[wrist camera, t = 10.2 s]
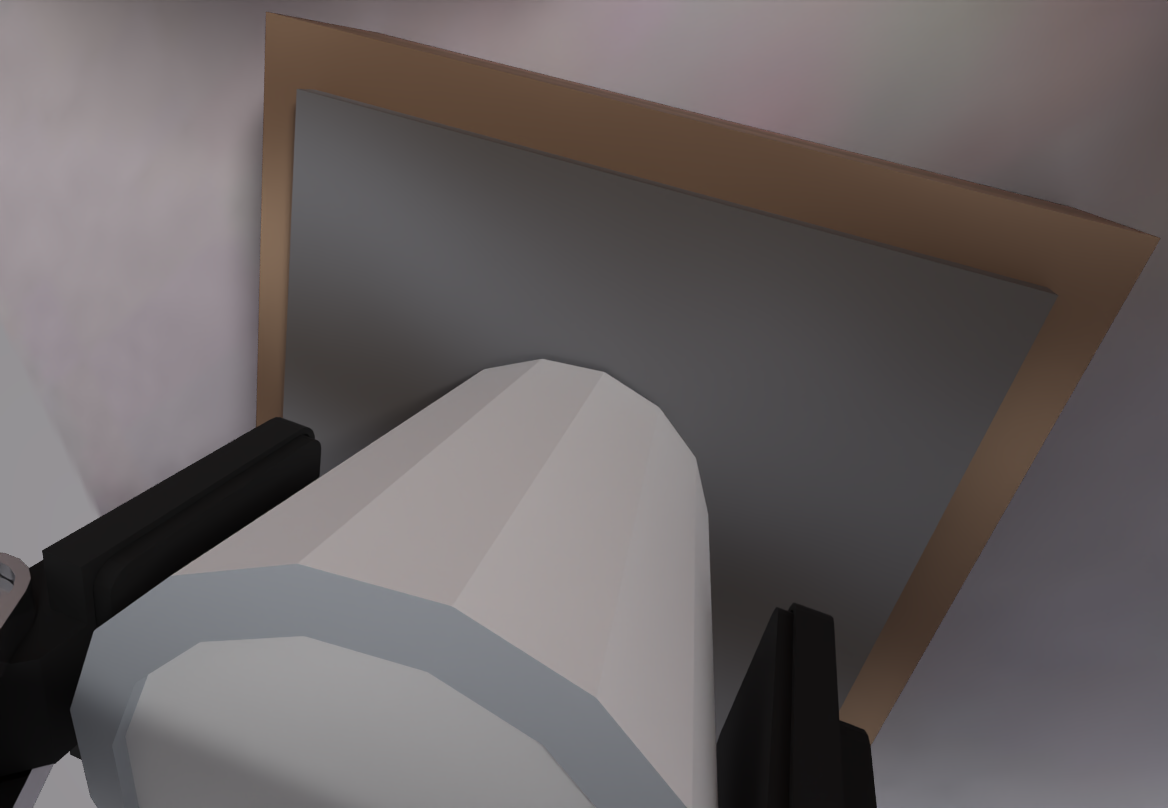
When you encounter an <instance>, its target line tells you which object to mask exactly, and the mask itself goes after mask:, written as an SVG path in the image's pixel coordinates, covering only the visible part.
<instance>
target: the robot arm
mask: <svg viewBox="0 0 1168 808" xmlns="http://www.w3.org/2000/svg"><path fill="white" fill-rule="evenodd" d="M320 463H321V444H320V442H319V441H318V440H316V439H315V435H314V432H313V430H312V429H311V428H309V427H306V426H303V425H301V424H298V423H295V422H292V421H290V420H287V419H284V418H281V417H275V418H272V419H270V420H268V421H267V422H265V423H263V424H261V425H260V426H258V427H256V428H254V429H253V430H251V431H249V432H247V433H246V434H244V435H242V436H240V437H239V438H237V439H235V440H234V441H232V442H230V443H228V444H227V445H225V446H223V447H221V448H220V449H218V450H216V451H214V452H213V453H211V454H209V455H207V456H206V457H204V458H202V459H200V460H199V461H197V462H195V463H194V464H192V465H190V466H188V467H187V468H185V469H183V470H181V471H180V472H178V473H176V474H174V475H173V476H171V477H169V478H167V479H166V480H164V481H162V482H160V483H159V484H157V485H155V486H154V487H152V488H150V489H148V490H147V491H145V492H143V493H141V494H140V495H138V496H136V497H134V498H133V499H131V500H129V501H127V502H126V503H124V504H122V505H120V506H119V507H117V508H115V509H114V510H112V511H110V512H108V513H107V514H105V515H103V516H101V517H100V518H98V519H96V520H94V521H93V522H91V523H90V524H88V525H86V526H84V527H82V528H81V529H79V530H77V531H75V532H74V533H72V534H70V535H69V536H67V537H65V538H63V539H61V540H60V541H58V542H56V543H55V544H53V545H51V546H49V547H48V548H46V549H44V550H42V553H43V560H42V561H40V562H39V563H37V564H35V565H34V566H32V567H30V568H28V566H27V565H25V564H24V563H23V562H22V561H21V560H20V559H19V558H16V557H14V556H11V555H9V554H6V553H0V808H33V806H34V804H35V802H36V800H37V798H38V796H39V794H40V792H41V790H42V787H43V786H44V783H45V781H46V779H47V777H48V775H49V773H50V771H51V769H52V767H53V764H55V763H56V762H57V761H59V760H60V759H61V758H62V757H63V756H64V755H66V754H67V753H68V752H69V751H70V754H71V755H73V756H75V757H77V758H79V759H81V755H80V750H79V746H78V742H77V738H76V734H75V729H74V725H73V721H72V717H71V712H70V708H71V705H72V701H73V698H74V695H75V691H76V688H77V685H78V682H79V678H80V675H81V672H82V668H83V665H84V662H85V658H86V655H87V652H88V649H89V645H90V642H91V639H92V635H93V632H94V630H96V629H97V628H98V627H100V626H101V625H103V624H104V623H105V622H107V621H108V620H110V619H111V618H112V617H114V616H115V615H117V614H118V613H119V612H121V611H122V610H124V609H125V608H126V607H128V606H129V605H131V604H132V603H133V602H135V601H136V600H138V599H139V598H140V597H142V596H143V595H145V594H146V593H147V592H149V591H150V590H152V589H153V588H154V587H156V586H157V585H159V584H160V583H161V582H163V581H164V580H166V579H167V578H168V577H170V576H171V575H173V574H174V573H176V572H177V571H179V570H180V569H182V568H183V567H185V566H186V565H188V564H189V563H191V562H192V561H194V560H195V559H197V558H198V557H200V556H201V555H203V554H204V553H206V552H208V551H209V550H211V549H212V548H214V547H215V546H217V545H218V544H220V543H221V542H223V541H224V540H226V539H227V538H229V537H230V536H232V535H233V534H235V533H236V532H238V531H239V530H241V529H242V528H244V527H245V526H247V525H248V524H250V523H251V522H253V521H255V520H256V519H258V518H259V517H261V516H262V515H264V514H265V513H267V512H268V511H270V510H271V509H273V508H274V507H276V506H277V505H279V504H280V503H282V502H283V501H285V500H286V499H288V498H289V497H291V496H292V495H294V494H295V493H297V492H299V491H300V490H302V489H303V488H305V487H306V486H308V485H309V484H311V483H312V482H314V481H315V480H317V479H318V478H320ZM716 756H717V786H718V808H877V805H876V796H875V786H874V776H873V766H872V756H871V746H870V741H869V736H868V734H867V733H866V731H865V730H864V729H862V728H859V727H856V726H854V725H851V724H849V723H846V722H843V721H841V720H839V703H838V685H837V666H836V648H835V630H834V619H833V617H832V616H831V615H828V614H825V613H822V612H820V611H817V610H814V609H811V608H809V607H806V606H803V605H800V604H797V603H795V602H794V603H792V605H791V606H790V607H789V609H788V611H787V610H784V609H781V608H779V607H776V608H775V609H774V611H773V613H772V615H771V617H770V620H769V622H768V624H767V627H766V629H765V631H764V633H763V636H762V638H761V640H760V643H759V645H758V647H757V650H756V652H755V654H754V656H753V659H752V661H751V663H750V666H749V668H748V670H747V673H746V675H745V677H744V679H743V682H742V684H741V686H740V689H739V691H738V693H737V696H736V698H735V700H734V702H733V705H732V707H731V709H730V712H729V714H728V716H727V719H726V721H725V723H724V725H723V728H722V730H721V732H720V735H719V738H718V741H717V744H716ZM81 760H82V759H81Z"/></svg>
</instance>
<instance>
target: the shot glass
mask: <svg viewBox="0 0 1168 808" xmlns="http://www.w3.org/2000/svg"><path fill="white" fill-rule="evenodd" d="M70 712H71V717H72V721H73V725H74V729H75V734H76V738H77V742H78V746H79V750H80V755H81V759H82V763H83V767H84V772H85V776H86V780H87V784H88V788H89V793H90V796H91V798H92V800H93V801H94V803H95V805H96V806H97V808H718V786H717V756H716V727H715V698H714V669H713V639H712V610H711V581H710V552H709V522H708V511H707V506H706V502H705V497H704V493H703V488H702V483H701V479H700V474H699V470H698V465H697V461H696V457H695V456H694V455H693V453H692V452H691V450H690V449H689V448H688V446H687V445H686V443H685V442H684V441H683V439H682V438H681V437H680V435H679V434H678V432H677V431H676V430H675V428H674V427H673V425H672V424H671V423H670V421H669V420H668V419H667V417H666V416H665V414H664V413H663V412H662V410H661V409H660V408H659V407H658V406H656V405H655V404H653V403H652V402H650V401H649V400H647V399H646V398H644V397H642V396H641V395H639V394H638V393H636V392H635V391H633V390H632V389H630V388H628V387H627V386H625V385H624V384H622V383H621V382H619V381H618V380H616V379H615V378H613V377H611V376H610V375H608V374H607V373H605V372H602V371H597V370H593V369H588V368H583V367H579V366H574V365H569V364H564V363H560V362H555V361H550V360H546V359H538V360H532V361H527V362H521V363H515V364H510V365H504V366H499V367H493V368H488V369H484V370H482V371H480V372H479V373H477V374H476V375H474V376H473V377H471V378H470V379H468V380H467V381H465V382H464V383H462V384H461V385H459V386H458V387H456V388H455V389H453V390H452V391H450V392H449V393H447V394H446V395H444V396H443V397H441V398H440V399H438V400H436V401H435V402H433V403H432V404H430V405H429V406H427V407H426V408H424V409H423V410H421V411H420V412H418V413H417V414H415V415H414V416H412V417H411V418H409V419H408V420H406V421H405V422H403V423H402V424H400V425H399V426H397V427H396V428H394V429H393V430H391V431H389V432H388V433H386V434H385V435H383V436H382V437H380V438H379V439H377V440H376V441H374V442H373V443H371V444H370V445H368V446H367V447H365V448H364V449H362V450H361V451H359V452H358V453H356V454H355V455H353V456H352V457H350V458H349V459H347V460H346V461H344V462H342V463H341V464H339V465H338V466H336V467H335V468H333V469H332V470H330V471H329V472H327V473H326V474H324V475H323V476H321V477H320V478H318V479H317V480H315V481H314V482H312V483H311V484H309V485H308V486H306V487H305V488H303V489H302V490H300V491H299V492H297V493H295V494H294V495H292V496H291V497H289V498H288V499H286V500H285V501H283V502H282V503H280V504H279V505H277V506H276V507H274V508H273V509H271V510H270V511H268V512H267V513H265V514H264V515H262V516H261V517H259V518H258V519H256V520H255V521H253V522H251V523H250V524H248V525H247V526H245V527H244V528H242V529H241V530H239V531H238V532H236V533H235V534H233V535H232V536H230V537H229V538H227V539H226V540H224V541H223V542H221V543H220V544H218V545H217V546H215V547H214V548H212V549H211V550H209V551H208V552H206V553H204V554H203V555H201V556H200V557H198V558H197V559H195V560H194V561H192V562H191V563H189V564H188V565H186V566H185V567H183V568H182V569H180V570H179V571H177V572H176V573H174V574H173V575H171V576H170V577H168V578H167V579H166V580H164V581H163V582H161V583H160V584H159V585H157V586H156V587H154V588H153V589H152V590H150V591H149V592H147V593H146V594H145V595H143V596H142V597H140V598H139V599H138V600H136V601H135V602H133V603H132V604H131V605H129V606H128V607H126V608H125V609H124V610H122V611H121V612H119V613H118V614H117V615H115V616H114V617H112V618H111V619H110V620H108V621H107V622H105V623H104V624H103V625H101V626H100V627H98V628H97V629H96V630H94V632H93V635H92V639H91V642H90V645H89V649H88V652H87V655H86V658H85V662H84V665H83V668H82V672H81V675H80V678H79V682H78V685H77V688H76V691H75V695H74V698H73V701H72V705H71V708H70Z"/></svg>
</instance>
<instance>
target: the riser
mask: <svg viewBox="0 0 1168 808" xmlns="http://www.w3.org/2000/svg"><path fill="white" fill-rule="evenodd" d="M1159 240H1160V238H1158V237H1156V236H1153V235H1150V234H1147V233H1144V232H1141V231H1138V230H1136V229H1133V228H1130V227H1127V226H1124V225H1121V224H1118V223H1116V222H1113V221H1110V220H1107V219H1104V218H1101V217H1098V216H1096V215H1093V214H1090V213H1087V212H1084V211H1081V210H1078V209H1076V208H1073V207H1069V206H1065V205H1061V204H1057V203H1053V202H1049V201H1045V200H1041V199H1037V198H1033V197H1029V196H1025V195H1021V194H1017V193H1013V192H1009V191H1005V190H1001V189H997V188H993V187H989V186H985V185H981V184H977V183H973V182H969V181H965V180H961V179H957V178H953V177H949V176H945V175H941V174H937V173H933V172H929V171H925V170H921V169H917V168H913V167H909V166H905V165H901V164H898V163H894V162H890V161H886V160H882V159H878V158H874V157H870V156H866V155H862V154H858V153H854V152H850V151H846V150H842V149H838V148H834V147H830V146H826V145H822V144H818V143H814V142H810V141H806V140H802V139H798V138H794V137H790V136H786V135H782V134H778V133H774V132H770V131H766V130H762V129H758V128H754V127H750V126H746V125H742V124H738V123H734V122H730V121H726V120H723V119H719V118H715V117H711V116H707V115H703V114H699V113H695V112H691V111H687V110H683V109H679V108H675V107H671V106H667V105H663V104H659V103H655V102H651V101H647V100H643V99H639V98H635V97H631V96H627V95H623V94H619V93H615V92H611V91H607V90H603V89H599V88H595V87H591V86H587V85H583V84H579V83H575V82H571V81H567V80H563V79H559V78H555V77H552V76H548V75H544V74H540V73H536V72H532V71H528V70H524V69H520V68H516V67H512V66H508V65H504V64H500V63H496V62H492V61H488V60H484V59H480V58H476V57H472V56H468V55H464V54H460V53H456V52H452V51H448V50H444V49H440V48H436V47H432V46H428V45H424V44H420V43H416V42H412V41H408V40H404V39H400V38H396V37H392V36H388V35H384V34H380V33H376V32H371V31H366V30H360V29H355V28H350V27H344V26H339V25H334V24H329V23H323V22H318V21H313V20H307V19H302V18H297V17H291V16H286V15H281V14H276V13H270V12H266V36H265V77H264V119H263V161H262V203H261V244H260V286H259V328H258V370H257V411H256V427H258V426H260V425H261V424H263V423H265V422H267V421H268V420H270V419H272V418H275V417H281V418H284V419H287V420H290V421H292V422H295V423H298V424H301V425H303V426H306V427H309V428H311V429H312V430H313V432H314V435H315V439H316V440H318V441H319V442H320V444H321V463H320V477H321V476H323V475H324V474H326V473H327V472H329V471H330V470H332V469H333V468H335V467H336V466H338V465H339V464H341V463H342V462H344V461H346V460H347V459H349V458H350V457H352V456H353V455H355V454H356V453H358V452H359V451H361V450H362V449H364V448H365V447H367V446H368V445H370V444H371V443H373V442H374V441H376V440H377V439H379V438H380V437H382V436H383V435H385V434H386V433H388V432H389V431H391V430H393V429H394V428H396V427H397V426H399V425H400V424H402V423H403V422H405V421H406V420H408V419H409V418H411V417H412V416H414V415H415V414H417V413H418V412H420V411H421V410H423V409H424V408H426V407H427V406H429V405H430V404H432V403H433V402H435V401H436V400H438V399H440V398H441V397H443V396H444V395H446V394H447V393H449V392H450V391H452V390H453V389H455V388H456V387H458V386H459V385H461V384H462V383H464V382H465V381H467V380H468V379H470V378H471V377H473V376H474V375H476V374H477V373H479V372H480V371H482V370H484V369H488V368H493V367H499V366H504V365H510V364H515V363H521V362H527V361H532V360H538V359H546V360H550V361H555V362H560V363H564V364H569V365H574V366H579V367H583V368H588V369H593V370H597V371H602V372H605V373H607V374H608V375H610V376H611V377H613V378H615V379H616V380H618V381H619V382H621V383H622V384H624V385H625V386H627V387H628V388H630V389H632V390H633V391H635V392H636V393H638V394H639V395H641V396H642V397H644V398H646V399H647V400H649V401H650V402H652V403H653V404H655V405H656V406H658V407H659V408H660V409H661V410H662V412H663V413H664V414H665V416H666V417H667V419H668V420H669V421H670V423H671V424H672V425H673V427H674V428H675V430H676V431H677V432H678V434H679V435H680V437H681V438H682V439H683V441H684V442H685V443H686V445H687V446H688V448H689V449H690V450H691V452H692V453H693V455H694V456H695V457H696V461H697V465H698V470H699V474H700V479H701V483H702V488H703V493H704V497H705V502H706V506H707V511H708V522H709V552H710V581H711V610H712V639H713V669H714V698H715V727H716V744H717V741H718V738H719V735H720V732H721V730H722V728H723V725H724V723H725V721H726V719H727V716H728V714H729V712H730V709H731V707H732V705H733V702H734V700H735V698H736V696H737V693H738V691H739V689H740V686H741V684H742V682H743V679H744V677H745V675H746V673H747V670H748V668H749V666H750V663H751V661H752V659H753V656H754V654H755V652H756V650H757V647H758V645H759V643H760V640H761V638H762V636H763V633H764V631H765V629H766V627H767V624H768V622H769V620H770V617H771V615H772V613H773V611H774V609H775V608H776V607H779V608H781V609H784V610H787V611H788V609H789V607H790V606H791V605H792V603H794V602H795V603H797V604H800V605H803V606H806V607H809V608H811V609H814V610H817V611H820V612H822V613H825V614H828V615H831V616H832V617H833V619H834V630H835V648H836V666H837V685H838V703H839V720H841V721H843V722H846V723H849V724H851V725H854V726H856V727H859V728H862V729H864V730H865V731H866V733H867V734H868V736H869V741H870V746H871V744H872V743H873V741H874V739H875V737H876V736H877V734H878V732H879V730H880V729H881V727H882V725H883V723H884V722H885V720H886V718H887V716H888V715H889V713H890V711H891V709H892V708H893V706H894V704H895V702H896V701H897V699H898V697H899V695H900V694H901V692H902V690H903V688H904V687H905V685H906V683H907V681H908V680H909V678H910V676H911V674H912V673H913V671H914V669H915V667H916V666H917V664H918V662H919V660H920V659H921V657H922V655H923V653H924V652H925V650H926V648H927V646H928V645H929V643H930V641H931V639H932V638H933V636H934V634H935V632H936V630H937V629H938V627H939V625H940V623H941V622H942V620H943V618H944V616H945V615H946V613H947V611H948V609H949V608H950V606H951V604H952V602H953V601H954V599H955V597H956V595H957V594H958V592H959V590H960V588H961V587H962V585H963V583H964V581H965V580H966V578H967V576H968V574H969V573H970V571H971V569H972V567H973V566H974V564H975V562H976V560H977V559H978V557H979V555H980V553H981V552H982V550H983V548H984V546H985V545H986V543H987V541H988V539H989V538H990V536H991V534H992V532H993V531H994V529H995V527H996V525H997V524H998V522H999V520H1000V518H1001V517H1002V515H1003V513H1004V511H1005V510H1006V508H1007V506H1008V504H1009V503H1010V501H1011V499H1012V497H1013V496H1014V494H1015V492H1016V490H1017V489H1018V487H1019V485H1020V483H1021V482H1022V480H1023V478H1024V476H1025V475H1026V473H1027V471H1028V469H1029V468H1030V466H1031V464H1032V462H1033V461H1034V459H1035V457H1036V455H1037V454H1038V452H1039V450H1040V448H1041V447H1042V445H1043V443H1044V441H1045V440H1046V438H1047V436H1048V434H1049V433H1050V431H1051V429H1052V427H1053V426H1054V424H1055V422H1056V420H1057V419H1058V417H1059V415H1060V413H1061V412H1062V410H1063V408H1064V406H1065V405H1066V403H1067V401H1068V399H1069V398H1070V396H1071V394H1072V392H1073V391H1074V389H1075V387H1076V385H1077V384H1078V382H1079V380H1080V378H1081V377H1082V375H1083V373H1084V371H1085V370H1086V368H1087V366H1088V364H1089V363H1090V361H1091V359H1092V357H1093V356H1094V354H1095V352H1096V350H1097V349H1098V347H1099V345H1100V343H1101V342H1102V340H1103V338H1104V336H1105V335H1106V333H1107V331H1108V329H1109V328H1110V326H1111V324H1112V322H1113V321H1114V319H1115V317H1116V315H1117V314H1118V312H1119V310H1120V308H1121V307H1122V305H1123V303H1124V301H1125V300H1126V298H1127V296H1128V294H1129V293H1130V291H1131V289H1132V287H1133V286H1134V284H1135V282H1136V280H1137V279H1138V277H1139V275H1140V273H1141V272H1142V270H1143V268H1144V266H1145V265H1146V263H1147V261H1148V259H1149V258H1150V256H1151V254H1152V252H1153V251H1154V249H1155V247H1156V245H1157V244H1158V242H1159Z"/></svg>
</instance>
